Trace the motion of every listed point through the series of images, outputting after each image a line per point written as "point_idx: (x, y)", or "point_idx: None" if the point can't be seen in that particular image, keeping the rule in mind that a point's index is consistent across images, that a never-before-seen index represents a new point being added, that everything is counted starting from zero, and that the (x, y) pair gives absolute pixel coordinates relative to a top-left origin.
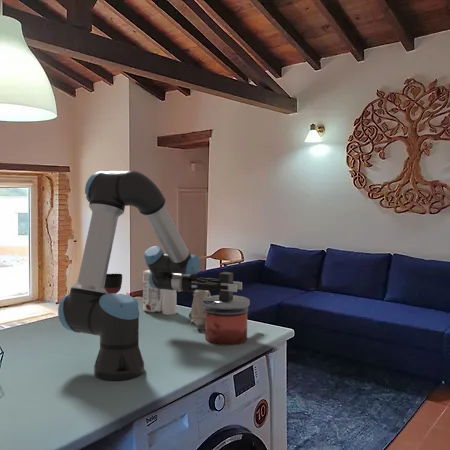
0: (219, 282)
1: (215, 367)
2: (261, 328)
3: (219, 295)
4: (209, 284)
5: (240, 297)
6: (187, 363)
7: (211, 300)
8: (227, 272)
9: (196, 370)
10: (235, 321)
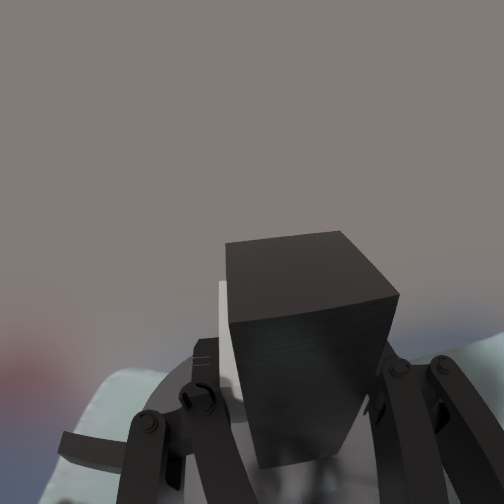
0: (370, 377)
1: (462, 350)
2: (117, 434)
3: (343, 438)
4: (478, 395)
5: (177, 398)
6: (497, 390)
7: (371, 488)
8: (249, 273)
9: (493, 355)
10: None
